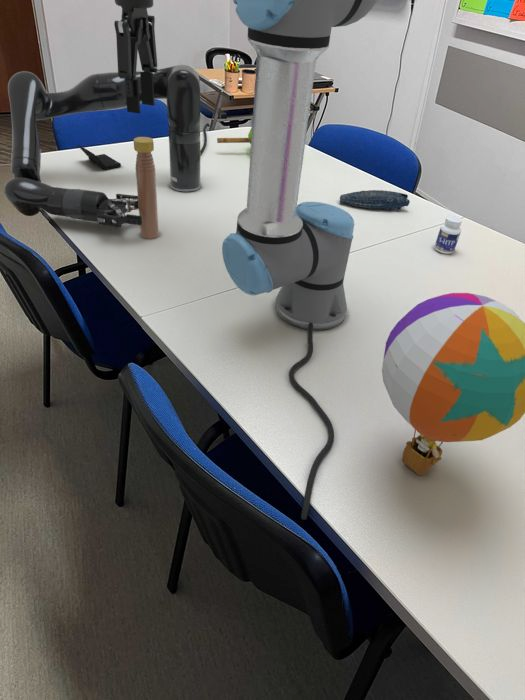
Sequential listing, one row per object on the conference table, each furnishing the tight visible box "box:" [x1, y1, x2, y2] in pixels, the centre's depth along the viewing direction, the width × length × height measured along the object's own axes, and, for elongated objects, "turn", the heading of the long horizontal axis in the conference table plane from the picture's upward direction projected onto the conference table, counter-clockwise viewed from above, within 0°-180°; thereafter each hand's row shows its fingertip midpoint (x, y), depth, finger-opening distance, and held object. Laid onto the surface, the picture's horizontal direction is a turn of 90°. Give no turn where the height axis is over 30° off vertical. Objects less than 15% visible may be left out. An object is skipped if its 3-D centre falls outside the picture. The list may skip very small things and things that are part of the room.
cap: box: [133, 136, 155, 153], centre depth 120 cm, size 4×4×2 cm
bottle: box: [134, 151, 160, 240], centre depth 127 cm, size 5×5×24 cm
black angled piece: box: [77, 144, 122, 170], centre depth 169 cm, size 12×7×10 cm
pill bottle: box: [434, 215, 463, 255], centre depth 137 cm, size 5×5×9 cm
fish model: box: [339, 189, 411, 211], centre depth 158 cm, size 7×21×5 cm, turn 84°
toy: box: [381, 292, 525, 477], centre depth 72 cm, size 20×20×30 cm
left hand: (147, 213), depth 131 cm, fingers open, 8 cm apart
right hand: (141, 108), depth 116 cm, fingers open, 7 cm apart
